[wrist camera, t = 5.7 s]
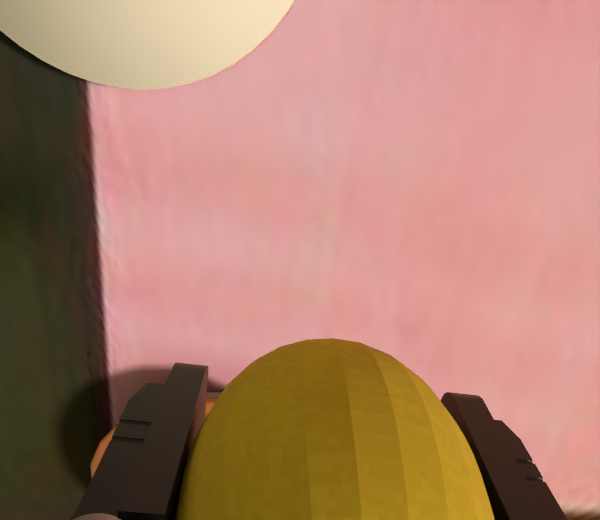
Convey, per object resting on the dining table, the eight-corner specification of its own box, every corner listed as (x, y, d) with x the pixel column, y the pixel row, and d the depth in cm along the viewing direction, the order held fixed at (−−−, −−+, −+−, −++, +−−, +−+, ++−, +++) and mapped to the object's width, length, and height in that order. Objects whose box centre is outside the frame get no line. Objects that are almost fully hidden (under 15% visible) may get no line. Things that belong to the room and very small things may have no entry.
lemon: (180, 310, 11) (-38, 814, 4) (398, 248, 10) (647, 708, 3) (256, 460, 13) (213, 954, 6) (439, 416, 13) (638, 910, 5)
